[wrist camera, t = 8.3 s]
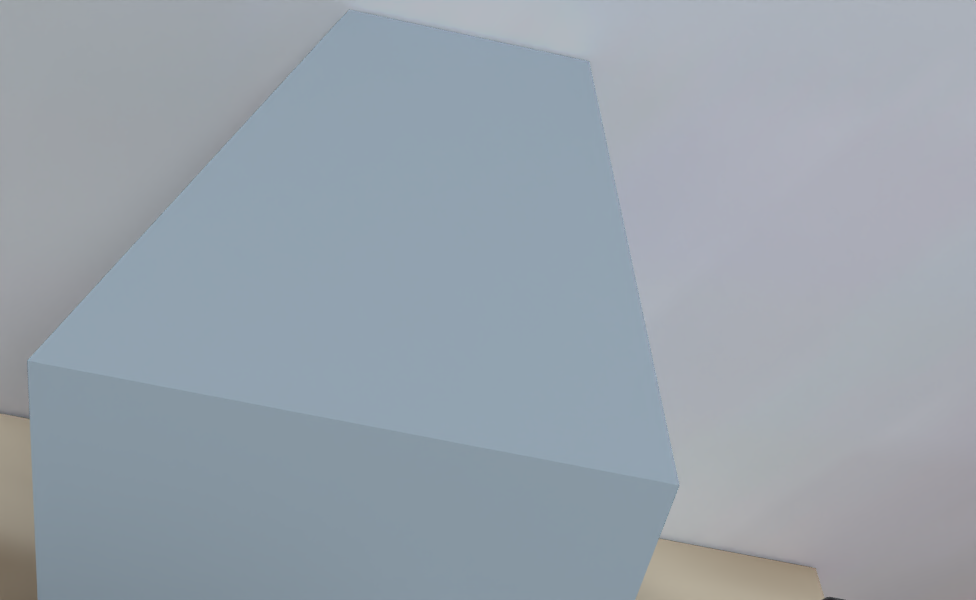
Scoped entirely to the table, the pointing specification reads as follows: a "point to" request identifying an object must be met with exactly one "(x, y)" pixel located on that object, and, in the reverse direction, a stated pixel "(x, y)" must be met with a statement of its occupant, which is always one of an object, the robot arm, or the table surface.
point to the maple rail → (662, 596)
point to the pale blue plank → (366, 352)
